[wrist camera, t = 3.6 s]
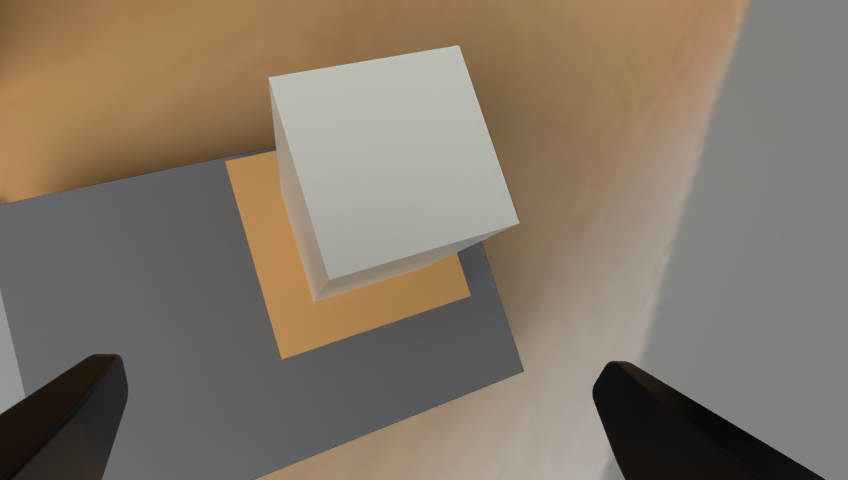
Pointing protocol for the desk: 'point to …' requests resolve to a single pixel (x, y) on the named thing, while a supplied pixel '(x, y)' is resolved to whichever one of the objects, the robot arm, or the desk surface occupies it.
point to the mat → (8, 366)
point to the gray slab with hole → (218, 331)
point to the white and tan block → (368, 195)
